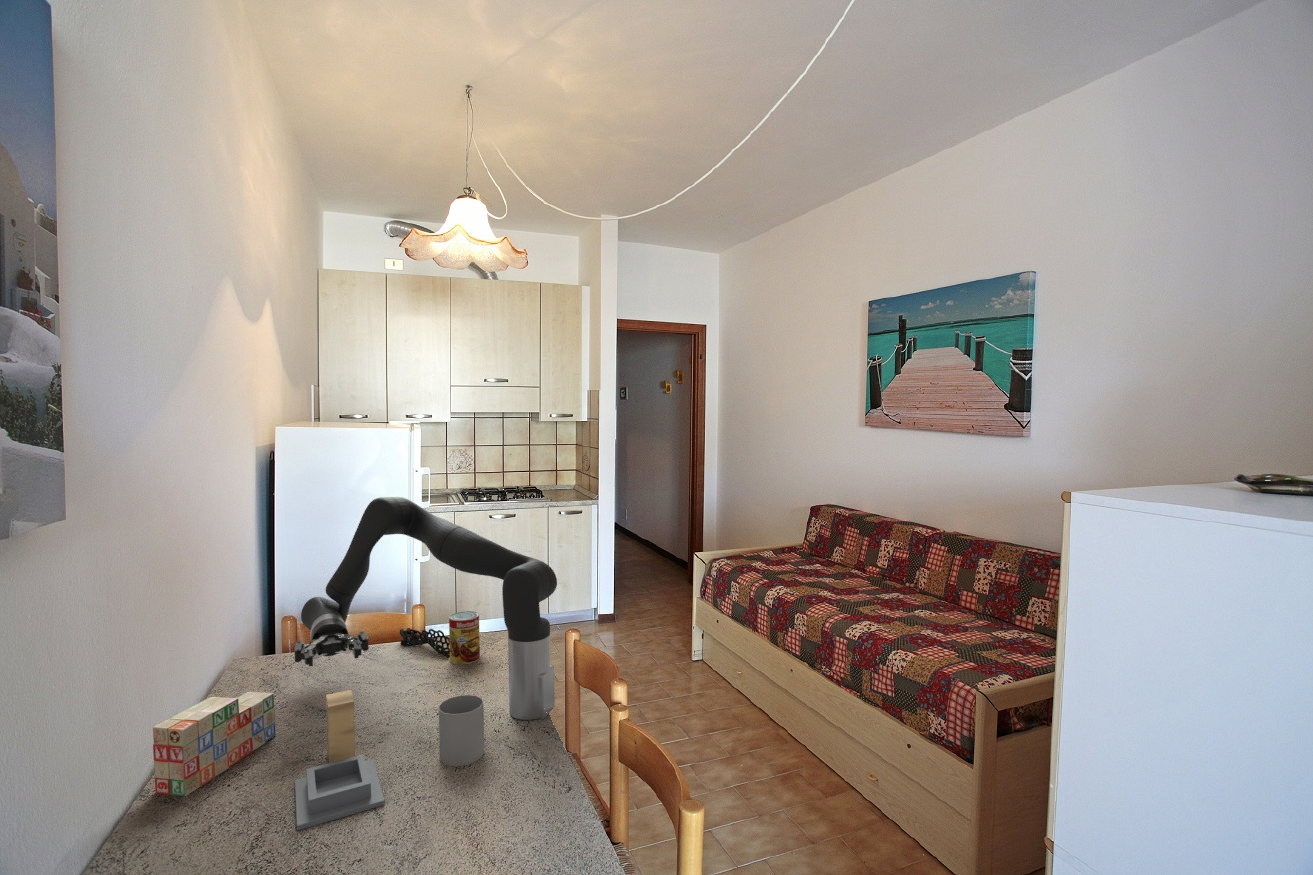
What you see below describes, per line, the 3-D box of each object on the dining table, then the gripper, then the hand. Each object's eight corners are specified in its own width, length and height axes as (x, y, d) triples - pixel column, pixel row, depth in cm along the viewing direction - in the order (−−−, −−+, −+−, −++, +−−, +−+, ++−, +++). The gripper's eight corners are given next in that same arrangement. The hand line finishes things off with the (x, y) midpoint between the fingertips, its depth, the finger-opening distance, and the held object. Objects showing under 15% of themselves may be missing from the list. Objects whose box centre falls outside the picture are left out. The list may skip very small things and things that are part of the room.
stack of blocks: (249, 734, 134) (248, 676, 134) (276, 736, 133) (274, 678, 133) (154, 794, 113) (151, 726, 113) (184, 797, 112) (182, 728, 112)
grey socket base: (295, 784, 116) (294, 766, 115) (373, 763, 122) (372, 746, 122) (297, 830, 103) (296, 810, 102) (384, 804, 109) (383, 785, 109)
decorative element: (459, 654, 178) (459, 633, 178) (445, 660, 174) (444, 639, 174) (408, 640, 190) (408, 620, 190) (393, 645, 186) (393, 625, 186)
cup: (438, 748, 128) (437, 699, 127) (480, 739, 131) (479, 691, 130) (441, 770, 120) (440, 717, 119) (486, 760, 123) (485, 709, 123)
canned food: (463, 666, 169) (462, 621, 168) (443, 660, 173) (442, 616, 173) (486, 657, 176) (485, 613, 175) (466, 651, 180) (465, 609, 179)
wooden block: (327, 754, 125) (326, 694, 125) (352, 748, 128) (350, 689, 127) (329, 769, 120) (328, 706, 120) (355, 762, 123) (353, 701, 122)
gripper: (293, 622, 143) (294, 646, 129) (362, 613, 150) (371, 633, 137) (293, 655, 144) (295, 682, 130) (363, 644, 151) (371, 668, 137)
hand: (334, 657), depth 133 cm, fingers open, 8 cm apart
